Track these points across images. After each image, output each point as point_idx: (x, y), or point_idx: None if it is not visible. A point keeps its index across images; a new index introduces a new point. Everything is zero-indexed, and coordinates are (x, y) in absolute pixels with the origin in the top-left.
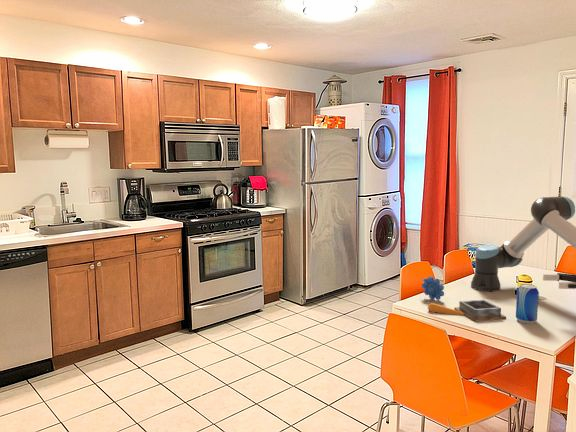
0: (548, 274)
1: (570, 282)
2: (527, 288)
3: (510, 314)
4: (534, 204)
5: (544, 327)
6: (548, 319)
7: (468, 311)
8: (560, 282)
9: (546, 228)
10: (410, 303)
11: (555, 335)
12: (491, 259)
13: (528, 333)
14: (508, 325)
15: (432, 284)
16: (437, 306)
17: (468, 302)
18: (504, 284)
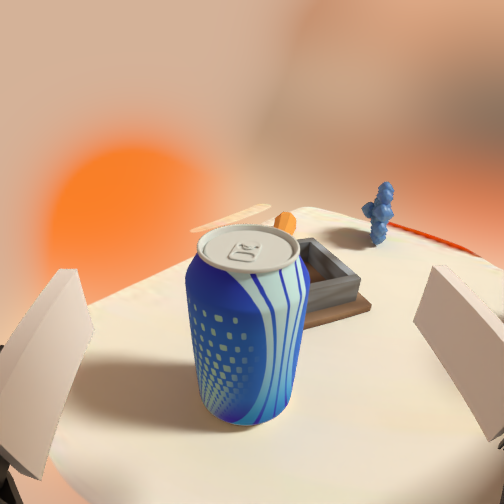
0: (468, 294)
1: (4, 357)
2: (205, 238)
3: (319, 364)
4: None
5: (161, 432)
6: (287, 495)
7: None
8: (57, 271)
9: None
10: (326, 216)
11: (73, 423)
12: None
13: (109, 353)
14: (187, 329)
15: (377, 200)
16: (278, 220)
17: (319, 252)
18: None
